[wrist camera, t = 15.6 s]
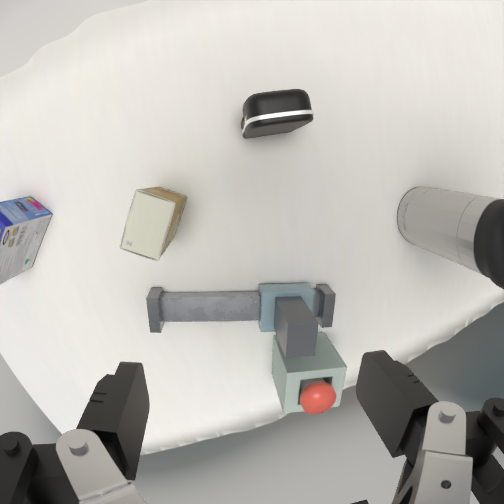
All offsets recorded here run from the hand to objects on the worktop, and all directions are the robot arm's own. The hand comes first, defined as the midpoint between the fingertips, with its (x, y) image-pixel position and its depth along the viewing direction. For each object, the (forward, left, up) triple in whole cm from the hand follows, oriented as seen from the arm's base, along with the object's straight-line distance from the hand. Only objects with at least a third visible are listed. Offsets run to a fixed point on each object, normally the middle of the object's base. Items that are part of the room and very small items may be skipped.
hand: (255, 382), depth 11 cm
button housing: (-11, +20, -33) cm, 40 cm away
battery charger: (-5, -14, -33) cm, 36 cm away
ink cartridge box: (+30, 0, -33) cm, 45 cm away
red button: (-11, +20, -31) cm, 39 cm away
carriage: (-8, +11, -33) cm, 36 cm away
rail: (-2, +11, -33) cm, 35 cm away
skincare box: (+8, -2, -33) cm, 34 cm away
